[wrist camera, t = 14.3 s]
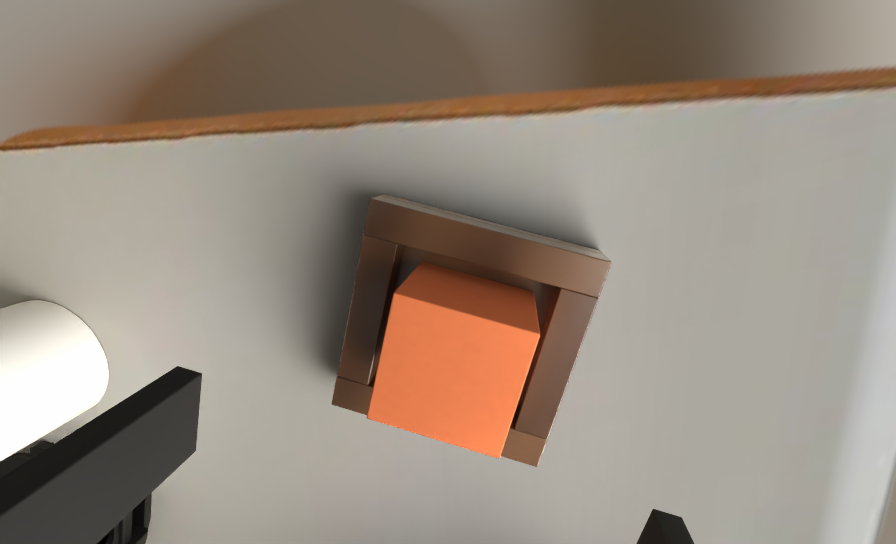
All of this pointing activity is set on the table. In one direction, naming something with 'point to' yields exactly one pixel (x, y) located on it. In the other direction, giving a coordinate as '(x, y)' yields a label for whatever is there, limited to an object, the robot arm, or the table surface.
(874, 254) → the table surface
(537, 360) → the brown wooden tray
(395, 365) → the orange cube
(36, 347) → the cup
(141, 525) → the end cap
